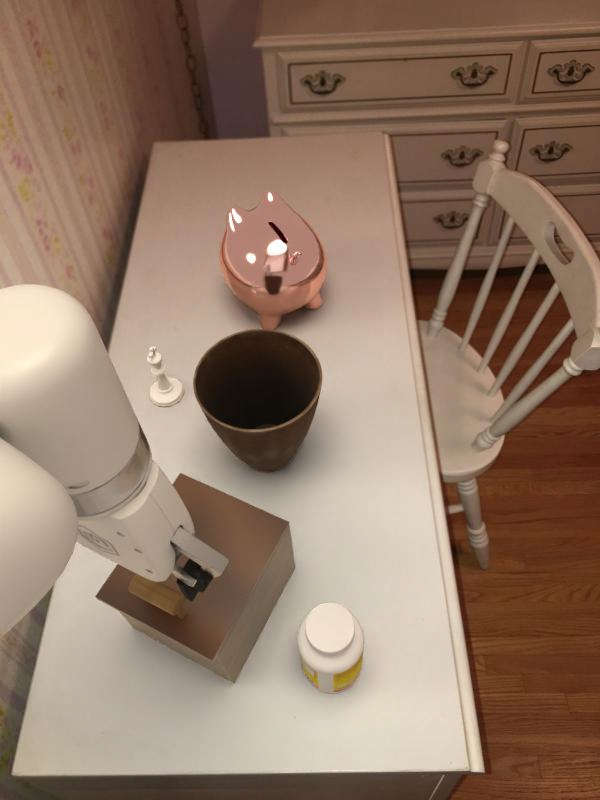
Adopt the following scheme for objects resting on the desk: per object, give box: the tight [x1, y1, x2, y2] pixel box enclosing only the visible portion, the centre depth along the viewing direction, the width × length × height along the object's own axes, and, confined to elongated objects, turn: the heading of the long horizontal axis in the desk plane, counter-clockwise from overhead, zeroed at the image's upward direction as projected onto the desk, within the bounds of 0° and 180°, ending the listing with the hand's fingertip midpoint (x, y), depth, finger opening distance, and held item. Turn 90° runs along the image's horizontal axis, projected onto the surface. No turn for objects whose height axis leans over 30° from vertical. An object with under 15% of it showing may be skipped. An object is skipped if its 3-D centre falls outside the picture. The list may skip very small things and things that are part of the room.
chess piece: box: [146, 345, 185, 408], centre depth 89 cm, size 5×5×10 cm
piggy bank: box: [218, 189, 328, 330], centre depth 98 cm, size 15×18×16 cm
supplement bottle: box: [296, 601, 365, 694], centre depth 66 cm, size 7×7×13 cm
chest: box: [118, 524, 296, 684], centre depth 71 cm, size 15×14×12 cm
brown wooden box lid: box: [94, 472, 290, 662], centre depth 64 cm, size 15×14×5 cm
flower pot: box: [192, 328, 323, 473], centre depth 81 cm, size 15×15×16 cm
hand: (151, 559), depth 55 cm, fingers open, 9 cm apart
